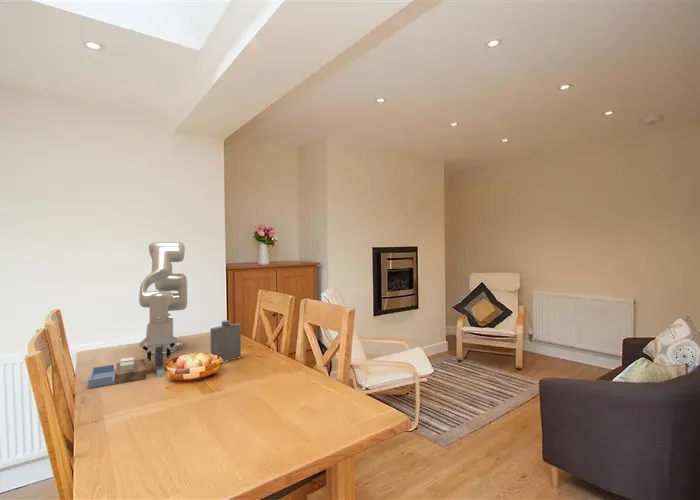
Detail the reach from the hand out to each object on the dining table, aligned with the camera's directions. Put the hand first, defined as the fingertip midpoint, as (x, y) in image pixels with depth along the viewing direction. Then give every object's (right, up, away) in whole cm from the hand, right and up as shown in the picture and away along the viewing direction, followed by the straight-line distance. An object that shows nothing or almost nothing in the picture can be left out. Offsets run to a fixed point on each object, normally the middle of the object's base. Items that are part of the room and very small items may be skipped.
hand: (158, 358), depth 165 cm
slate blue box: (-18, -6, -11) cm, 22 cm away
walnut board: (-9, -6, -6) cm, 12 cm away
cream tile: (-13, -2, -4) cm, 13 cm away
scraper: (0, -6, 0) cm, 6 cm away
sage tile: (-9, -2, -10) cm, 13 cm away
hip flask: (+26, -6, +15) cm, 30 cm away
